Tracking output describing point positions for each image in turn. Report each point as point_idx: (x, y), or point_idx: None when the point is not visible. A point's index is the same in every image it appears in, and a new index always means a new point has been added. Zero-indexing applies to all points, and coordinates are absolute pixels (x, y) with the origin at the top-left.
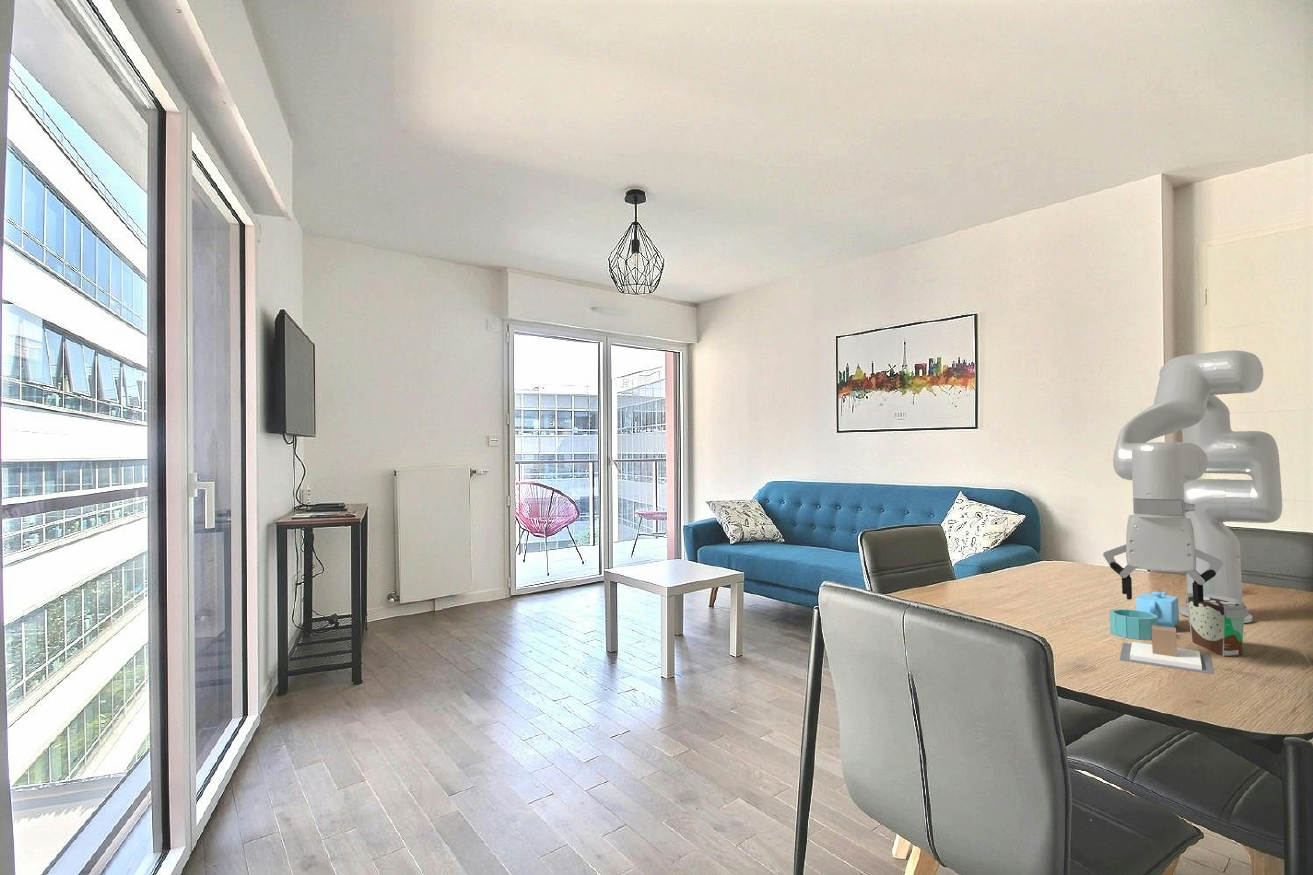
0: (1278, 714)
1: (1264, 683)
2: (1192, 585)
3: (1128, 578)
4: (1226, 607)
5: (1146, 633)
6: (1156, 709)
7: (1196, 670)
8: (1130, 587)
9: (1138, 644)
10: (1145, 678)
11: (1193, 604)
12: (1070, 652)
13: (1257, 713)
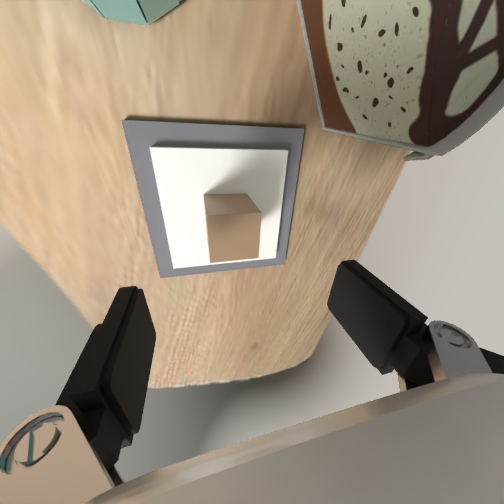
0: (309, 333)
1: (333, 249)
2: (389, 321)
3: (125, 445)
4: (443, 150)
5: (164, 2)
6: (223, 380)
7: (265, 260)
8: (145, 385)
9: (169, 169)
10: (206, 317)
11: (330, 301)
12: (60, 266)
13: (295, 341)
